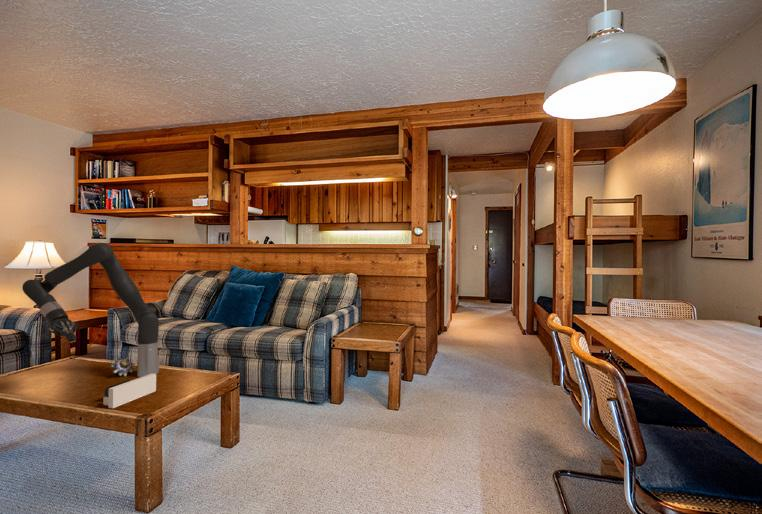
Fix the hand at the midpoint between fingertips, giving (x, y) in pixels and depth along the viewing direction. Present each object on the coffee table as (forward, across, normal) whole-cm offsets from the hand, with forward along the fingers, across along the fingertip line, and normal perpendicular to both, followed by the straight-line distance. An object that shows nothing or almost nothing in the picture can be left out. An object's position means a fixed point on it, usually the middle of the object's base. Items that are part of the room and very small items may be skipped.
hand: (73, 340), depth 180 cm
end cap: (+37, -1, -3) cm, 37 cm away
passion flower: (+16, +26, +18) cm, 36 cm away
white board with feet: (+40, 0, -6) cm, 40 cm away
